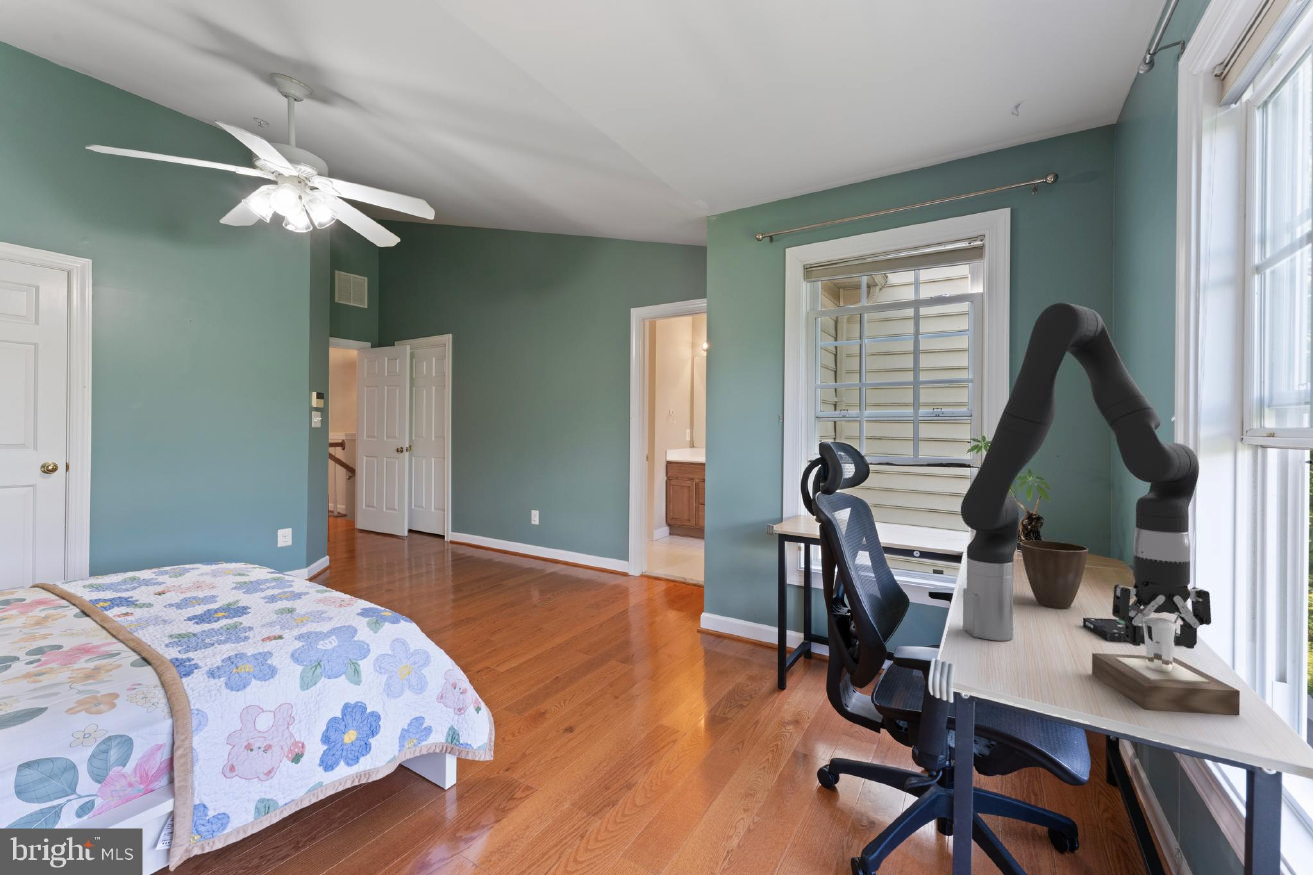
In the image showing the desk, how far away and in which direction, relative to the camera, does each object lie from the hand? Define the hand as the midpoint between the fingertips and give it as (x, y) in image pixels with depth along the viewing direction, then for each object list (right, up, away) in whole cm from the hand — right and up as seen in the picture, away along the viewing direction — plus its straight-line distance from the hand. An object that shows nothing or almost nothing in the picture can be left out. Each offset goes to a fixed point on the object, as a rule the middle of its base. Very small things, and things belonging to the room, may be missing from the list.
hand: (1160, 645), depth 100 cm
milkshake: (0, -4, 0) cm, 4 cm away
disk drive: (+19, -9, +28) cm, 35 cm away
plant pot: (+17, -8, +51) cm, 55 cm away
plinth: (0, -8, 0) cm, 8 cm away
